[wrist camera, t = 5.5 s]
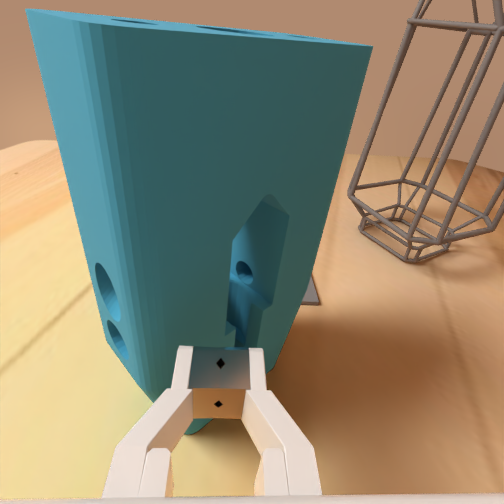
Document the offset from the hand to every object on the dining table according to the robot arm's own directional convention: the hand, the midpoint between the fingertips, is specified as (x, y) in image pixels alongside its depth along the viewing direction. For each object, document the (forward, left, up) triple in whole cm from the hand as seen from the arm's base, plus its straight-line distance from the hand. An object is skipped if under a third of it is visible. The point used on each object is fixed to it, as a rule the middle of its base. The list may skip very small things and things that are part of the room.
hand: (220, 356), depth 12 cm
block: (0, +6, -11) cm, 12 cm away
